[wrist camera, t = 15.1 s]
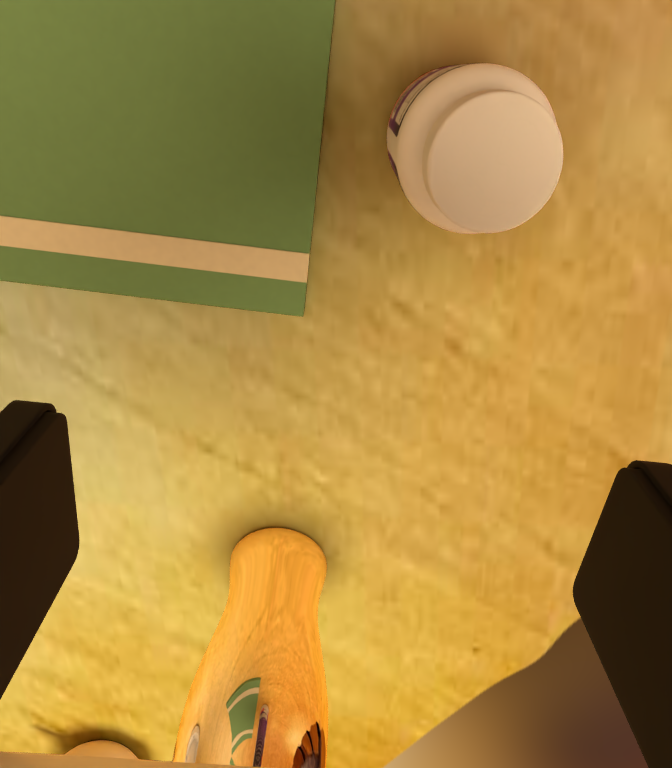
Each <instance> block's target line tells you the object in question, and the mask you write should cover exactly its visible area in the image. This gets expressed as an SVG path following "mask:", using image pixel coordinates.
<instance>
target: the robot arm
mask: <svg viewBox="0 0 672 768" xmlns="http://www.w3.org/2000/svg"><path fill="white" fill-rule="evenodd" d="M78 549H79V530H78V521H77V512H76V502H75V493H74V483H73V474H72V464H71V455H70V445H69V436H68V427H67V420H66V417H65V415H64V414H62V413H57V412H56V409H55V407H54V406H53V405H52V404H50V403H40V402H30V401H19V400H15V401H12V402H11V403H10V404H8V405H7V406H6V407H5V408H4V409H3V410H2V411H1V412H0V699H1V697H2V695H3V693H4V692H5V690H6V688H7V686H8V684H9V682H10V681H11V679H12V677H13V675H14V673H15V671H16V669H17V668H18V666H19V664H20V662H21V660H22V658H23V657H24V655H25V653H26V651H27V649H28V647H29V645H30V644H31V642H32V640H33V638H34V636H35V634H36V632H37V631H38V629H39V627H40V625H41V623H42V621H43V620H44V618H45V616H46V614H47V612H48V610H49V608H50V607H51V605H52V603H53V601H54V599H55V597H56V596H57V594H58V592H59V590H60V588H61V586H62V584H63V583H64V581H65V579H66V577H67V575H68V573H69V571H70V570H71V568H72V566H73V564H74V562H75V560H76V557H77V554H78ZM573 597H574V602H575V605H576V607H577V609H578V612H579V614H580V616H581V618H582V620H583V623H584V625H585V627H586V629H587V632H588V634H589V636H590V638H591V640H592V643H593V644H594V647H595V649H596V652H597V654H598V656H599V658H600V660H601V663H602V665H603V667H604V669H605V672H606V674H607V676H608V678H609V680H610V682H611V685H612V687H613V689H614V692H615V694H616V696H617V698H618V700H619V703H620V705H621V707H622V709H623V711H624V714H625V716H626V718H627V720H628V723H629V725H630V727H631V729H632V732H633V734H634V736H635V738H636V740H637V743H638V745H639V747H640V749H641V751H642V754H643V756H644V758H645V760H646V762H647V765H648V767H649V768H672V465H671V464H667V463H658V462H648V461H637V460H636V461H633V462H631V463H630V464H629V465H628V467H627V468H622V469H620V470H619V471H618V473H617V475H616V477H615V480H614V483H613V485H612V488H611V490H610V493H609V495H608V498H607V500H606V503H605V505H604V508H603V510H602V513H601V515H600V518H599V520H598V523H597V526H596V528H595V531H594V533H593V536H592V538H591V541H590V543H589V546H588V548H587V551H586V553H585V556H584V558H583V561H582V564H581V566H580V569H579V571H578V574H577V576H576V579H575V581H574V585H573ZM0 768H266V767H250V766H235V765H219V764H203V763H187V762H172V761H156V760H140V759H124V758H109V757H93V756H77V755H61V754H40V753H18V752H0Z"/></svg>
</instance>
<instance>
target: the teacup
mask: <svg viewBox="0 0 672 768" xmlns="http://www.w3.org/2000/svg"><path fill="white" fill-rule="evenodd" d="M64 755H77V756H93V757H109V758H124V759H138V758H137V757H136V756H135V754H134V753H132V751H131V750H129V749H128V748H127V747H125V746H123V745H121V744H119V743H116V742H113V741H107V740H96V741H91V742H87V743H83V744H81V745H78V746H76V747H74V748H73V749H71V750H70V751H68V752H67V753H66V754H64Z"/></svg>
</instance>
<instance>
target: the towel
mask: <svg viewBox="0 0 672 768" xmlns="http://www.w3.org/2000/svg"><path fill="white" fill-rule="evenodd" d="M334 9H335V0H0V281H9V282H17V283H25V284H34V285H42V286H51V287H59V288H67V289H76V290H84V291H92V292H101V293H109V294H117V295H126V296H134V297H143V298H151V299H159V300H168V301H176V302H184V303H193V304H201V305H209V306H218V307H226V308H235V309H243V310H251V311H260V312H268V313H276V314H285V315H293V316H301V317H303V315H304V309H305V299H306V289H307V279H308V269H309V259H310V249H311V239H312V229H313V219H314V209H315V199H316V189H317V179H318V169H319V159H320V149H321V139H322V129H323V119H324V109H325V99H326V89H327V79H328V69H329V59H330V49H331V39H332V29H333V19H334Z"/></svg>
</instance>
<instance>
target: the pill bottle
mask: <svg viewBox="0 0 672 768" xmlns="http://www.w3.org/2000/svg"><path fill="white" fill-rule="evenodd" d="M387 149H388V156H389V159H390V163H391V165H392V168H393V170H394V172H395V174H396V176H397V178H398V181H399V183H400V185H401V188H402V190H403V192H404V194H405V196H406V198H407V199H408V201H409V202H410V204H411V205H412V206H413V208H414V209H415V210H416V211H417V212H418V213H419V214H420V215H421V216H422V217H424V218H425V219H426V220H428V221H429V222H431V223H432V224H434V225H436V226H438V227H440V228H442V229H445V230H447V231H452V232H456V233H463V234H475V233H496V232H502V231H506V230H509V229H512V228H515V227H517V226H519V225H521V224H522V223H524V222H526V221H527V220H529V219H530V218H532V217H533V216H534V215H535V214H536V213H537V212H538V211H539V210H540V209H541V208H542V207H543V206H544V205H545V203H546V202H547V201H548V200H549V198H550V197H551V195H552V193H553V191H554V189H555V187H556V185H557V183H558V180H559V177H560V174H561V170H562V164H563V144H562V138H561V134H560V131H559V129H558V126H557V124H556V119H555V115H554V113H553V110H552V108H551V105H550V103H549V101H548V100H547V98H546V96H545V95H544V93H543V92H542V91H541V89H540V88H539V87H538V86H537V85H536V84H535V83H534V82H533V81H532V80H530V79H529V78H528V77H527V76H525V75H524V74H522V73H520V72H518V71H516V70H514V69H512V68H509V67H506V66H503V65H497V64H492V63H473V64H462V65H453V66H446V67H440V68H437V69H434V70H432V71H430V72H427V73H426V74H424V75H422V76H420V77H419V78H418V79H416V80H415V81H414V82H413V83H411V84H410V85H409V86H408V87H407V88H406V89H405V91H404V92H403V93H402V94H401V96H400V97H399V99H398V100H397V102H396V104H395V106H394V108H393V110H392V113H391V116H390V119H389V123H388V128H387Z"/></svg>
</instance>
